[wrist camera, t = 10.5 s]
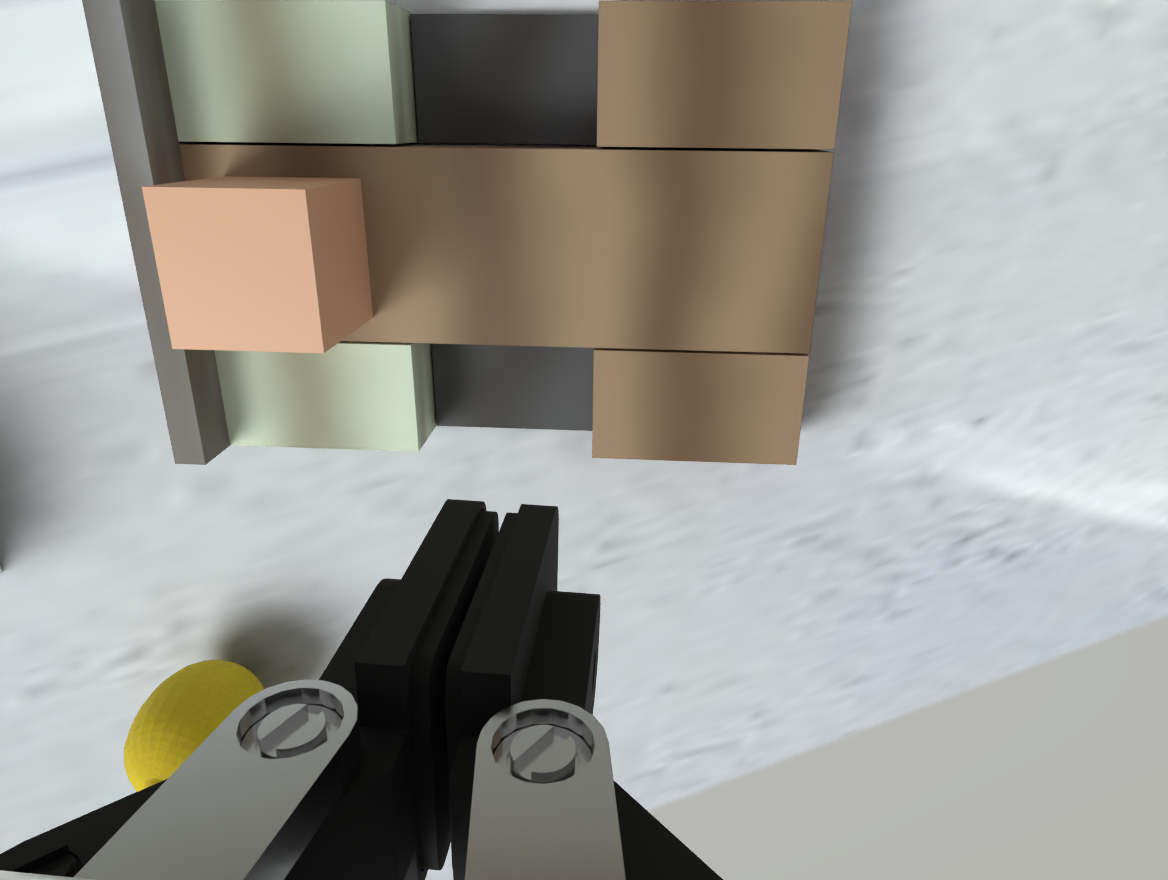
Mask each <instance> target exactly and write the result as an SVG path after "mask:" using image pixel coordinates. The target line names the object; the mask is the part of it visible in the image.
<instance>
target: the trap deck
mask: <svg viewBox="0 0 1168 880" xmlns="http://www.w3.org/2000/svg"><path fill="white" fill-rule="evenodd" d="M82 2H83V7H84V12H85V17H86V22H87V27H88V32H89V37H90V42H91V47H92V52H93V57H94V62H95V67H96V72H97V77H98V82H99V86H100V91H101V96H102V101H103V106H104V111H105V116H106V121H107V126H108V131H109V136H110V141H111V146H112V151H113V156H114V161H115V166H116V171H117V176H118V181H119V186H120V191H121V196H122V201H123V206H124V211H125V216H126V221H127V226H128V231H129V236H130V241H131V246H132V251H133V256H134V261H135V266H136V271H137V276H138V281H139V286H140V291H141V296H142V301H143V306H144V310H145V315H146V320H147V325H148V330H149V335H150V340H151V345H152V350H153V355H154V360H155V365H156V370H157V375H158V380H159V385H160V390H161V395H162V400H163V405H164V410H165V415H166V420H167V425H168V430H169V435H170V440H171V445H172V450H173V455H174V460H175V464H200V465H206V464H207V463H208V462H209V461H211V460H212V459H213V458H215V457H216V456H217V455H218V454H220V453H221V452H222V451H223V450H225V449H226V448H227V447H229V446H230V445H243V446H272V447H301V448H329V449H358V450H386V451H415V452H419V450H420V449H421V447H422V446H423V444H424V443H425V442H426V440H427V439H428V437H429V436H430V434H431V433H432V431H433V430H434V428H435V427H436V418H437V426H466V427H496V428H526V429H556V430H587V431H593V439H592V458H615V459H643V460H672V461H701V462H729V463H758V464H786V465H796V462H797V454H798V446H799V437H800V429H801V421H802V412H803V404H804V396H805V387H806V379H807V371H808V362H809V355H808V354H810V346H811V337H812V329H813V321H814V312H815V304H816V296H817V287H818V279H819V271H820V262H821V254H822V246H823V237H824V229H825V221H826V212H827V204H828V196H829V188H830V179H831V171H832V163H833V154H834V152H827V151H821V150H801V149H834V146H835V138H836V129H837V121H838V113H839V104H840V96H841V88H842V79H843V71H844V63H845V54H846V46H847V38H848V29H849V21H850V13H851V4H852V1H599V15H502V14H411V22H410V12H408V11H406V10H404V9H402V8H400V7H398V6H396V5H394V4H392V3H390V2H387V1H385V0H82ZM411 29H412V38H411ZM412 45H413V53H412ZM413 60H414V69H413ZM414 76H415V84H414ZM415 92H416V100H415ZM416 107H417V115H416ZM417 123H418V131H417ZM418 138H419V142H437V143H521V144H597V146H598V147H554V146H471V145H389V144H402V143H413V142H418ZM223 142H267V143H223ZM306 143H350V144H306ZM636 147H681V148H636ZM719 148H764V149H719ZM221 176H242V177H303V178H361V188H362V199H363V211H364V222H365V233H366V244H367V255H368V266H369V277H370V288H371V299H372V311H373V318H372V319H370V320H369V321H368V322H366V323H365V324H364V325H362V326H361V327H360V328H358V329H357V330H355V331H354V332H353V333H351V334H350V335H349V336H347V337H346V338H344V339H343V340H342V341H340V342H339V343H338V344H336V345H335V346H333V347H332V348H331V349H329V350H328V351H327V352H325V353H293V352H259V351H226V350H192V349H172V344H171V339H170V334H169V328H168V323H167V318H166V312H165V307H164V302H163V297H162V291H161V286H160V281H159V275H158V270H157V265H156V260H155V254H154V249H153V244H152V239H151V233H150V228H149V223H148V217H147V212H146V207H145V202H144V196H143V191H142V187H143V186H151V185H159V184H167V183H174V182H182V181H190V180H198V179H206V178H213V177H221ZM431 343H432V348H431ZM432 356H433V363H432ZM433 371H434V379H433ZM434 387H435V394H434ZM435 402H436V410H435Z"/></svg>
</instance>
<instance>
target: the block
mask: <svg viewBox="0 0 1168 880" xmlns="http://www.w3.org/2000/svg"><path fill="white" fill-rule="evenodd" d="M142 191H143V196H144V202H145V207H146V212H147V217H148V223H149V228H150V233H151V239H152V244H153V249H154V254H155V260H156V265H157V270H158V275H159V281H160V286H161V291H162V297H163V302H164V307H165V312H166V318H167V323H168V328H169V334H170V339H171V344H172V349H192V350H226V351H259V352H293V353H325V352H327V351H328V350H329V349H331V348H332V347H333V346H335V345H336V344H338V343H339V342H340V341H342V340H343V339H344V338H346V337H347V336H349V335H350V334H351V333H353V332H354V331H355V330H357V329H358V328H360V327H361V326H362V325H364V324H365V323H366V322H368V321H369V320H370V319H372V318H373V311H372V299H371V288H370V277H369V266H368V255H367V244H366V233H365V222H364V211H363V199H362V188H361V178H303V177H242V176H221V177H213V178H206V179H198V180H190V181H182V182H174V183H167V184H159V185H151V186H143V187H142Z"/></svg>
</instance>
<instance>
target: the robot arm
mask: <svg viewBox="0 0 1168 880" xmlns="http://www.w3.org/2000/svg"><path fill="white" fill-rule="evenodd" d="M558 524H559V514H558V507H555V506H540V505H526V504H522V505H521V506H520V509H519V512H518V513H507V514H506V516H505V518H504V521H503V523H502V526H501V528H500V531H499V522H498V514H497V512H491V511H486V505H485V503H484V502H481V501H466V500H451V499H448V500H447V501H446V502H445V504H444V505H443V507H442V509H441V511H440V512H439V514H438V516H437V518H436V519H435V521H434V523H433V525H432V526H431V528H430V530H429V532H428V533H427V535H426V537H425V539H424V540H423V542H422V544H421V546H420V547H419V549H418V551H417V553H416V554H415V556H414V558H413V560H412V561H411V563H410V565H409V567H408V569H407V570H406V572H405V574H404V576H403V577H402V579H401V580H399V579H383V580H381V581H380V582H379V584H378V585H377V586H376V588H375V590H374V591H373V593H372V594H371V596H370V598H369V599H368V601H367V603H366V604H365V606H364V607H363V609H362V611H361V612H360V614H359V616H358V617H357V619H356V621H355V622H354V624H353V625H352V627H351V629H350V630H349V632H348V634H347V635H346V637H345V638H344V640H343V642H342V643H341V645H340V647H339V648H338V650H337V651H336V653H335V655H334V656H333V658H332V660H331V661H330V663H329V664H328V666H327V668H326V669H325V671H324V673H323V674H322V676H321V677H320V679H319V680H311V679H305V680H297V681H288V682H285V683H281V684H278V685H275V686H272V687H268V688H266V689H264V690H262V691H260V692H258V693H256V694H255V695H253V696H251V697H249V698H248V699H247V700H245V701H244V702H243V703H242V704H240V705H239V706H238V707H237V708H236V709H234V710H233V711H232V713H231V714H230V715H229V716H228V717H227V718H226V719H225V720H224V721H223V722H222V723H221V724H220V725H219V726H218V727H217V728H216V729H215V730H214V731H213V732H212V733H211V734H210V735H209V736H208V738H207V739H206V740H205V741H204V742H203V743H202V744H201V745H200V746H199V747H198V748H197V749H196V750H195V751H194V752H193V753H192V754H191V755H190V756H189V757H188V758H187V759H186V760H185V762H184V763H183V764H182V765H181V766H180V767H179V768H178V769H177V770H176V771H175V772H174V773H173V774H172V775H171V776H170V777H169V778H168V779H165V780H163V781H161V782H159V783H156V784H154V785H152V786H149V787H147V788H145V789H143V790H140V791H138V792H136V793H134V794H131V795H129V796H127V797H124V798H122V799H120V800H118V801H115V802H113V803H111V804H108V805H106V806H104V807H102V808H99V809H97V810H95V811H92V812H90V813H88V814H86V815H83V816H81V817H79V818H77V819H74V820H72V821H70V822H67V823H65V824H63V825H61V826H58V827H56V828H54V829H51V830H49V831H47V832H45V833H42V834H40V835H38V836H35V837H33V838H31V839H29V840H26V841H24V842H22V843H20V844H18V845H16V846H15V847H13V848H11V849H9V850H7V851H5V852H3V853H2V854H0V880H425V878H426V875H427V871H428V869H432V870H441V869H442V867H443V866H444V863H445V860H446V856H447V853H448V849H449V846H450V843H451V849H452V868H453V878H454V880H723V879H722V878H721V877H719V876H718V875H717V874H716V873H715V872H714V871H713V870H711V869H710V868H709V867H708V866H707V865H706V864H705V863H704V862H703V861H702V860H701V859H700V858H698V857H697V856H696V855H695V854H694V853H693V852H692V851H691V850H690V849H689V848H687V847H686V846H685V845H684V844H683V843H682V842H681V841H680V840H679V839H678V838H676V837H675V836H674V835H673V834H672V833H671V832H670V831H668V829H667V828H665V827H664V826H663V825H662V824H661V823H660V822H659V821H658V820H657V819H656V818H654V817H653V816H652V815H651V814H650V813H649V812H648V811H647V810H646V809H644V808H643V807H642V806H641V805H640V804H639V803H638V802H637V801H636V800H635V799H633V798H632V797H631V796H630V795H629V794H628V793H627V792H626V791H625V790H624V789H622V788H621V787H620V786H619V785H618V784H617V783H616V782H615V781H614V780H613V773H612V765H611V757H610V749H609V742H608V739H607V736H606V733H605V730H604V728H603V726H602V725H601V724H600V723H599V722H598V720H597V719H596V718H595V717H594V716H593V706H594V697H595V687H596V675H597V662H598V645H599V624H600V595H599V594H586V593H573V592H559V591H557V572H558Z"/></svg>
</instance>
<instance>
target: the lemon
mask: <svg viewBox="0 0 1168 880" xmlns="http://www.w3.org/2000/svg"><path fill="white" fill-rule="evenodd" d="M262 690H264V687H263V685H262V683H261V682H260V681H259V679H258V678H257V677H256V676H255V675H254V674H253V673H252V672H251V671H250V670H248V669H247V668H245V667H243V666H242V665H239V664H236V663H234V662H230V661H224V660H209V661H202V662H199V663H195V664H192V665H189V666H187V667H185V668H183V669H181V670H180V671H178V672H176V673H175V674H173V675H172V676H170V677H169V678H167V679H166V680H165V681H164V682H162V683H161V684H160V685H159V686H158V687H157V688H156V689H155V691H154V692H153V693H152V694H151V695H150V697H149V698H148V699H147V700H146V702H145V703H144V704H143V706H142V707H141V709H140V710H139V712H138V713H137V715H136V717H135V719H134V721H133V723H132V726H131V728H130V731H129V734H128V737H127V740H126V743H125V747H124V765H125V769H126V773H127V776H128V779H129V780H130V782H131V784H132V785H133V787H134V788H135V790H136V791H137V792H138V791H140V790H143V789H145V788H147V787H149V786H152V785H154V784H156V783H159V782H161V781H163V780H165V779H168V778H169V777H170V776H171V775H172V774H173V773H174V772H175V771H176V770H177V769H178V768H179V767H180V766H181V765H182V764H183V763H184V762H185V760H186V759H187V758H188V757H189V756H190V755H191V754H192V753H193V752H194V751H195V750H196V749H197V748H198V747H199V746H200V745H201V744H202V743H203V742H204V741H205V740H206V739H207V738H208V736H209V735H210V734H211V733H212V732H213V731H214V730H215V729H216V728H217V727H218V726H219V725H220V724H221V723H222V722H223V721H224V720H225V719H226V718H227V717H228V716H229V715H230V714H231V713H232V711H233V710H234V709H236V708H237V707H238V706H239V705H240V704H242V703H243V702H244V701H245V700H247V699H248V698H249V697H251V696H253V695H255V694H256V693H258V692H260V691H262Z"/></svg>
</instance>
